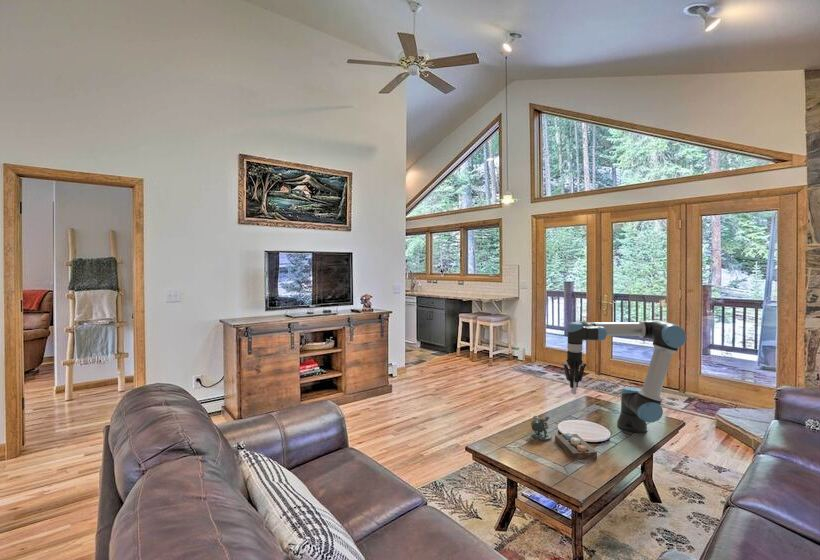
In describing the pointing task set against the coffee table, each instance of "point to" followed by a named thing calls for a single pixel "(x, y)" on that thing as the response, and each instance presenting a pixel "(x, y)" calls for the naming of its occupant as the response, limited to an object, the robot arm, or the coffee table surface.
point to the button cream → (575, 441)
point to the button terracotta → (581, 448)
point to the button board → (575, 448)
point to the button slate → (568, 436)
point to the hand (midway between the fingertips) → (573, 393)
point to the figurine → (540, 429)
